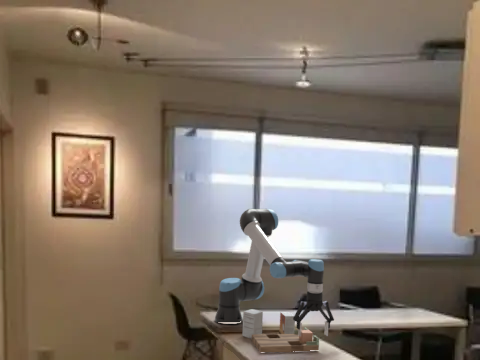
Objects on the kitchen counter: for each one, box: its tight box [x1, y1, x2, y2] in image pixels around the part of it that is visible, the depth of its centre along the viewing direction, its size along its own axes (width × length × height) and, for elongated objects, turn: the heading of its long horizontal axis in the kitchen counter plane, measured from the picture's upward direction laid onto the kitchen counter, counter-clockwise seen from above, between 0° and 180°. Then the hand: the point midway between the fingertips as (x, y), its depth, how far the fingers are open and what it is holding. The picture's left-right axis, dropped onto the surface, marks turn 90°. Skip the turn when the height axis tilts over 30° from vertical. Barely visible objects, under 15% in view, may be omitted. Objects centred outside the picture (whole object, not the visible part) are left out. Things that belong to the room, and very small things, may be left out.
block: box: [299, 329, 314, 341], centre depth 238 cm, size 5×5×4 cm
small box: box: [278, 311, 296, 334], centre depth 255 cm, size 8×6×10 cm
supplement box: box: [242, 308, 264, 340], centre depth 249 cm, size 7×7×13 cm
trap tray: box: [251, 327, 320, 353], centre depth 236 cm, size 18×28×6 cm, turn 102°
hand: (312, 335), depth 239 cm, fingers open, 13 cm apart
